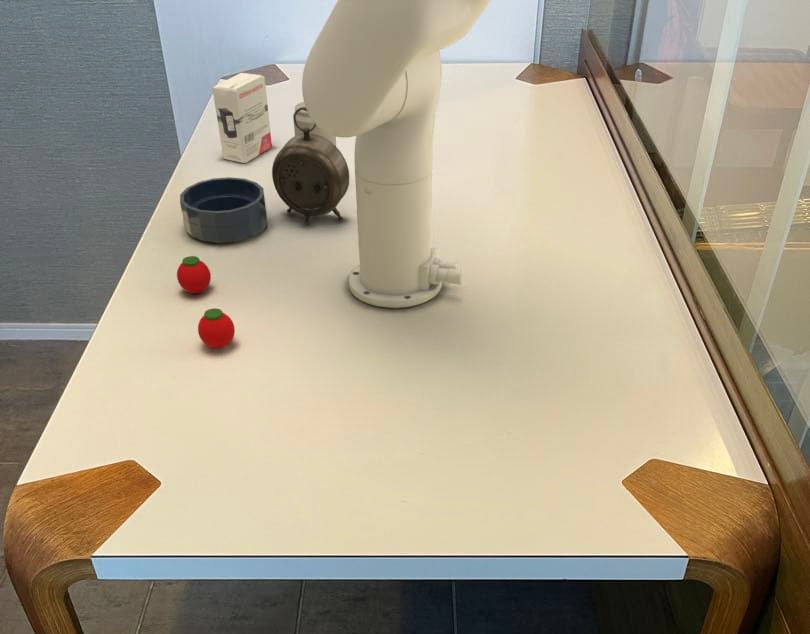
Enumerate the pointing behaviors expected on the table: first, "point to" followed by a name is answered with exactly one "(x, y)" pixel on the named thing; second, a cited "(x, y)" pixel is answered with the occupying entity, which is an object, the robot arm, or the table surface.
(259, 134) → the ink box
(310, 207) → the alarm clock
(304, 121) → the beverage can
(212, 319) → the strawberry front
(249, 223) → the bowl
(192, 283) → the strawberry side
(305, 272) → the table surface
